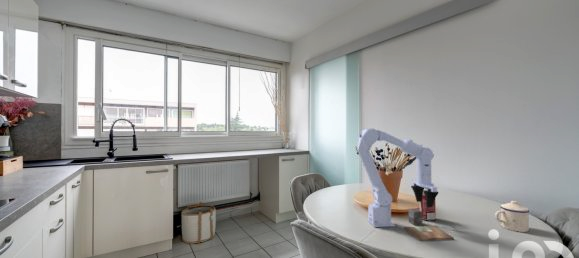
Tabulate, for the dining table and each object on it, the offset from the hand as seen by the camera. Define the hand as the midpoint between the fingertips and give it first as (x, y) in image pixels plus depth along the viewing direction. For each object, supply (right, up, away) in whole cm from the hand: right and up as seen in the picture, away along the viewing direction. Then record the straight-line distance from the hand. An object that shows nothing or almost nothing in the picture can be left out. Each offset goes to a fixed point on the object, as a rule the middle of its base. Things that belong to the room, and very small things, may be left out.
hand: (424, 204), depth 107 cm
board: (-4, -9, -9) cm, 14 cm away
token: (-3, -10, +2) cm, 10 cm away
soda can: (+6, -10, +7) cm, 13 cm away
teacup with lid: (+35, -9, -4) cm, 37 cm away
